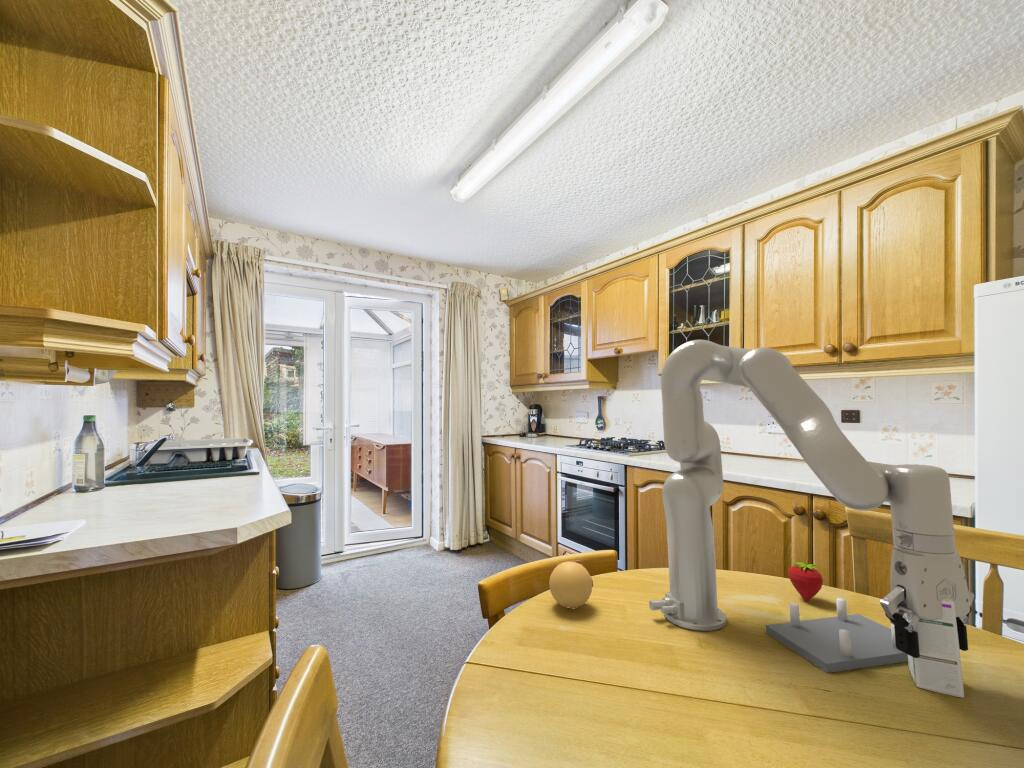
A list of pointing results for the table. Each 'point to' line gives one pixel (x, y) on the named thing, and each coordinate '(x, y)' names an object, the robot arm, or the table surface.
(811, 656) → the plate
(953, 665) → the syrup box
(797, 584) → the strawberry
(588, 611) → the table surface
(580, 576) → the stress ball
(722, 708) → the table surface
